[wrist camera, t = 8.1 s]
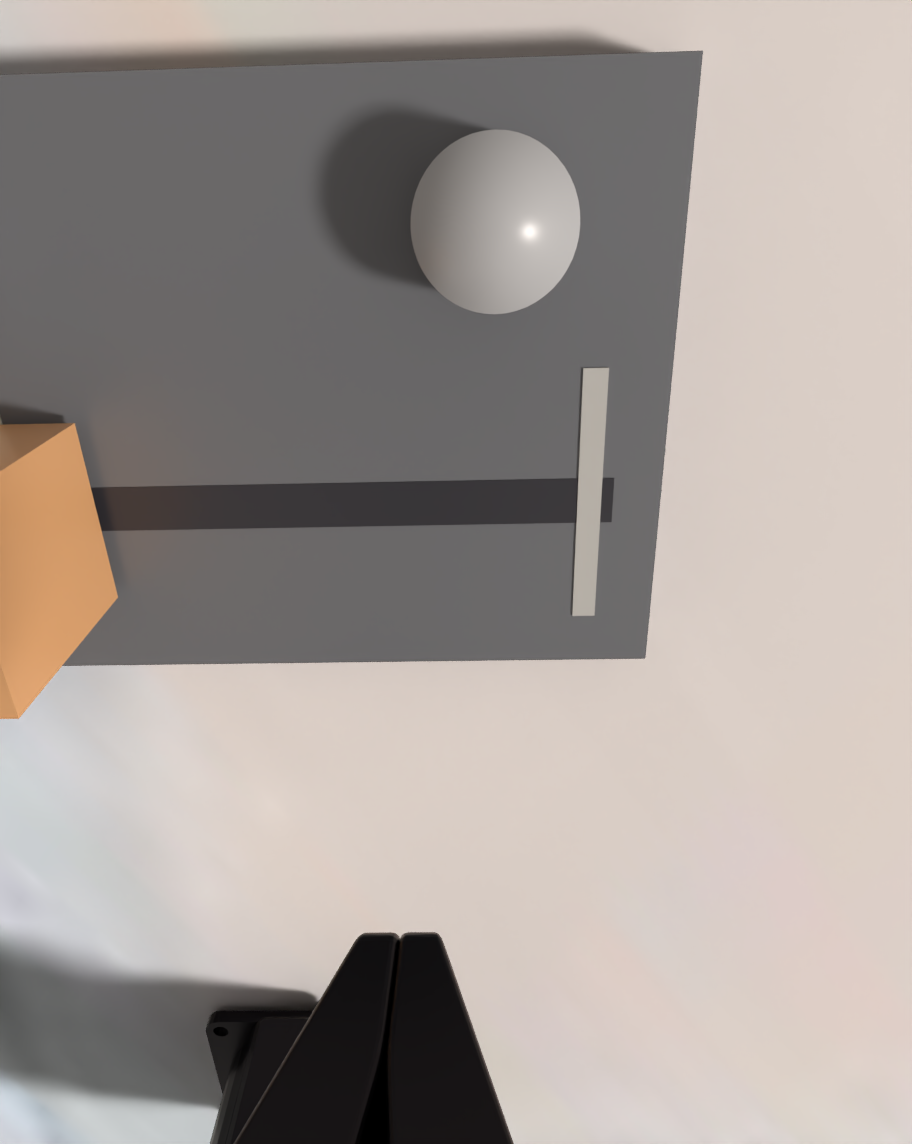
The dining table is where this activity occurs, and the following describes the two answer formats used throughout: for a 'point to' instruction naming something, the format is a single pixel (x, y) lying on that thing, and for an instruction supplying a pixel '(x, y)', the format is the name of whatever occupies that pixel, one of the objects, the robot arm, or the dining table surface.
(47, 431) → the orange cube
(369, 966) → the robot arm
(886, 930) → the dining table surface
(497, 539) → the board
